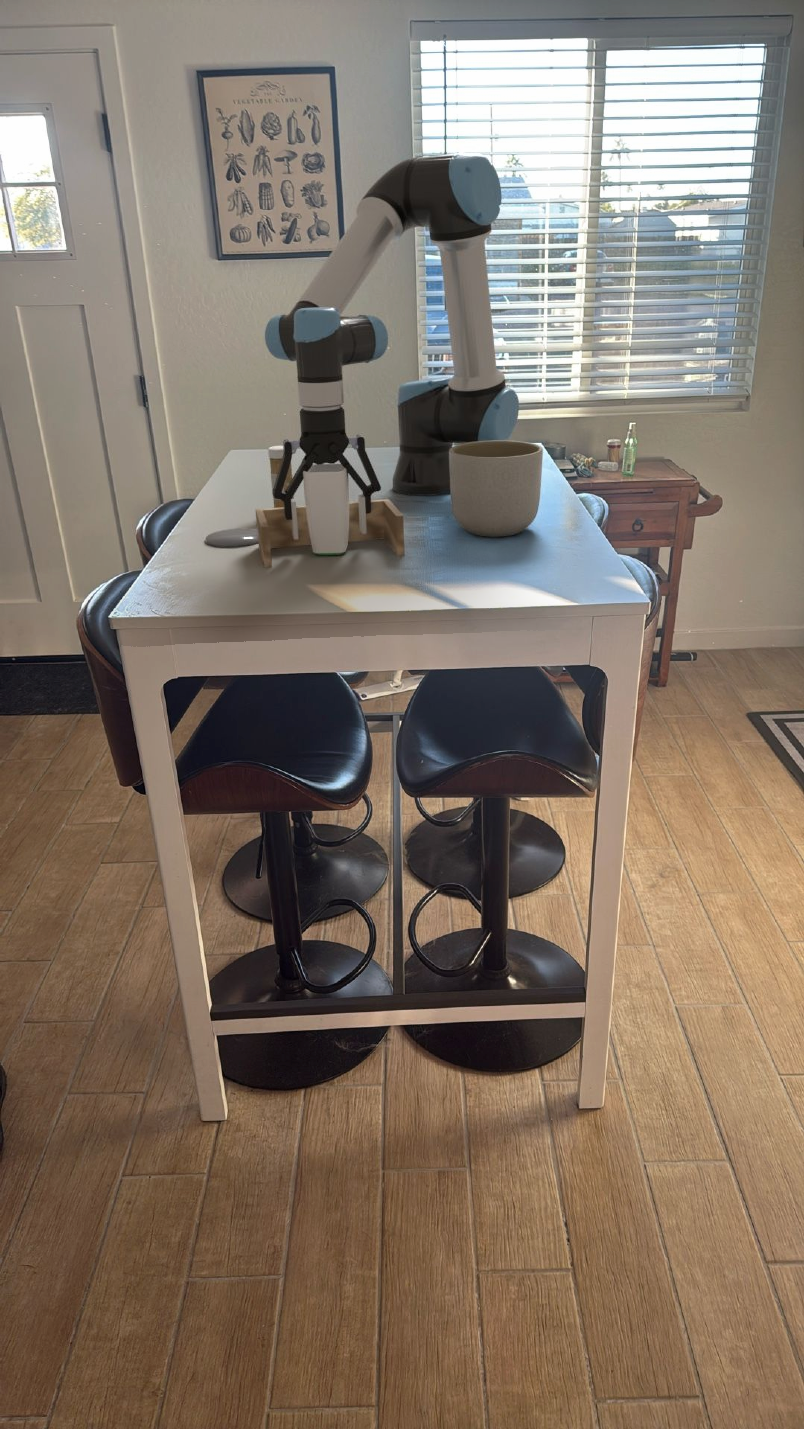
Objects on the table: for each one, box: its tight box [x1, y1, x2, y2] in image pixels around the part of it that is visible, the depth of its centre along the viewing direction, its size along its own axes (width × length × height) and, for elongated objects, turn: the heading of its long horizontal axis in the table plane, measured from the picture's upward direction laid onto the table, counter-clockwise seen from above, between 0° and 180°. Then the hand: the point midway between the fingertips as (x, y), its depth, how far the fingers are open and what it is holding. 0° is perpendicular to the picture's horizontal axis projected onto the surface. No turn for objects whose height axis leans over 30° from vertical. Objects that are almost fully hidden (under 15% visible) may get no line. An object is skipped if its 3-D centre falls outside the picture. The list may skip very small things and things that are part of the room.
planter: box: [449, 440, 544, 538], centre depth 184 cm, size 17×17×15 cm
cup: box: [303, 463, 350, 556], centre depth 174 cm, size 7×7×15 cm
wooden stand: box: [255, 498, 405, 568], centre depth 176 cm, size 24×13×7 cm, turn 102°
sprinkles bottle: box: [267, 445, 295, 508], centre depth 201 cm, size 5×5×14 cm
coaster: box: [205, 528, 259, 548], centre depth 187 cm, size 11×11×1 cm
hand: (329, 534), depth 176 cm, fingers open, 11 cm apart
